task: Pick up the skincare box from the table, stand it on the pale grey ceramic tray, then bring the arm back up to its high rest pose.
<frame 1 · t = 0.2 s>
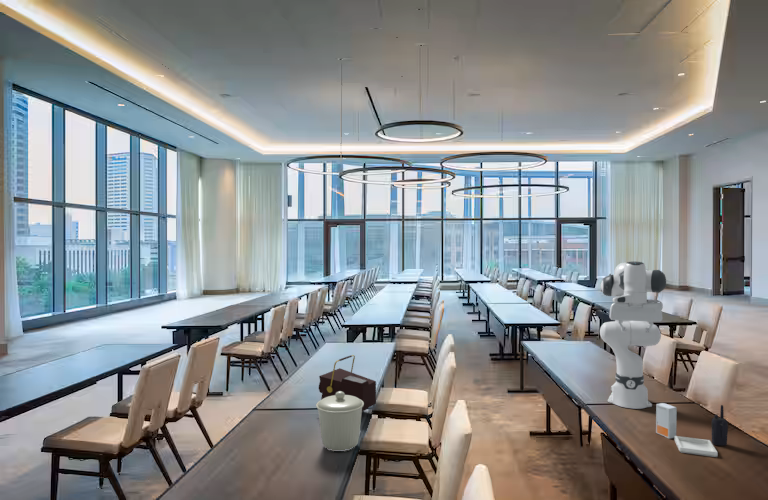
hand: (635, 331, 210), 39 cm above the table, tool pointing down, fingers open, 8 cm apart
canister: (340, 447, 188), on the table
skincare box: (666, 435, 196), on the table
tray: (695, 448, 184), on the table
two-way radio: (720, 445, 187), on the table
brown box with handle: (348, 412, 225), on the table
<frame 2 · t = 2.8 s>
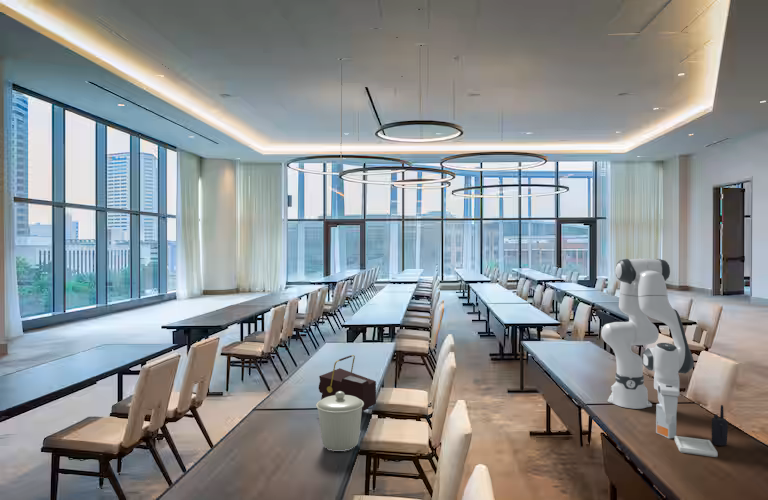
hand: (666, 419, 196), 6 cm above the table, tool pointing down, fingers closed on skincare box, 7 cm apart
skincare box: (666, 435, 196), on the table, touching gripper
everything else where it was.
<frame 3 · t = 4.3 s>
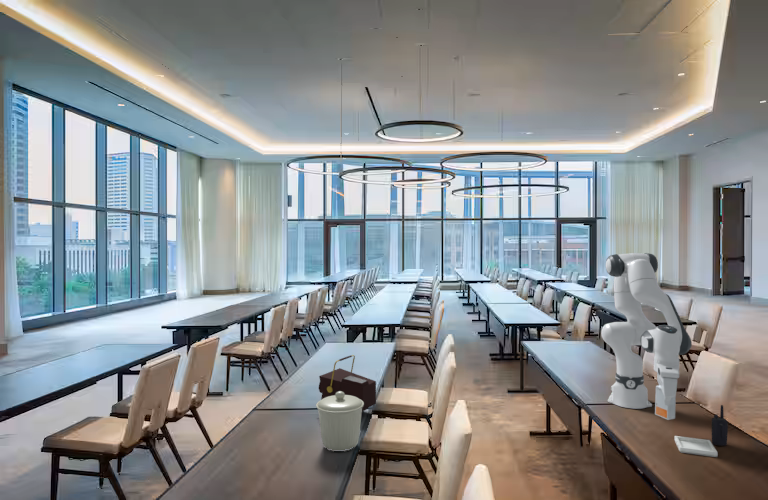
hand: (665, 401, 197), 13 cm above the table, tool pointing down, fingers closed on skincare box, 7 cm apart
skincare box: (664, 417, 197), point 7 cm above the table, touching gripper
everything else where it was.
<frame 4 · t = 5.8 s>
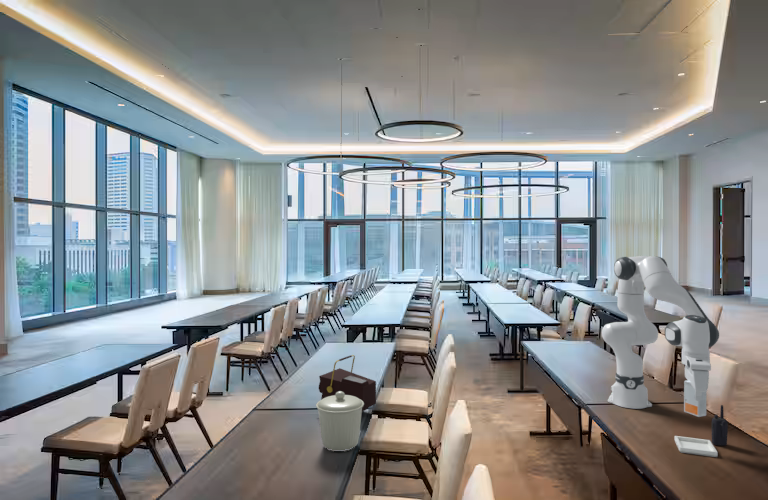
hand: (695, 396, 183), 19 cm above the table, tool pointing down, fingers closed on skincare box, 7 cm apart
skincare box: (695, 414, 184), point 13 cm above the table, touching gripper
everything else where it was.
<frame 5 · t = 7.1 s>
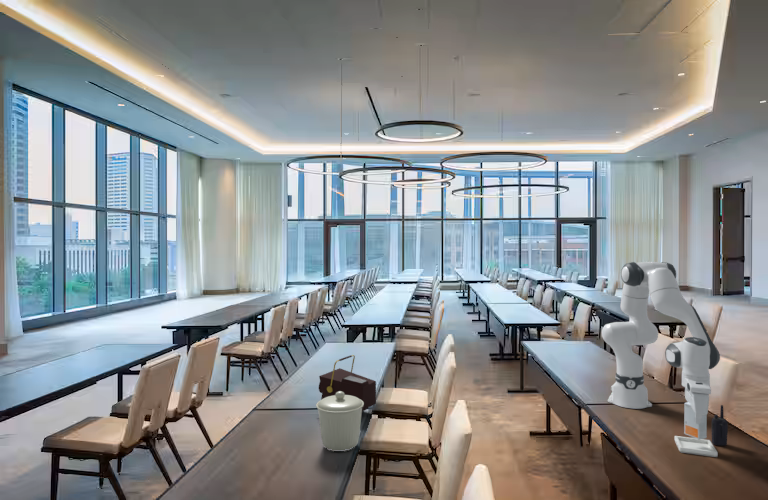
hand: (695, 419, 184), 11 cm above the table, tool pointing down, fingers closed on skincare box, 7 cm apart
skincare box: (695, 436, 184), point 4 cm above the table, touching gripper
everything else where it was.
when the fingers open (8 cm above the table, at t = 8.3 s): skincare box stays where it is, resting on tray.
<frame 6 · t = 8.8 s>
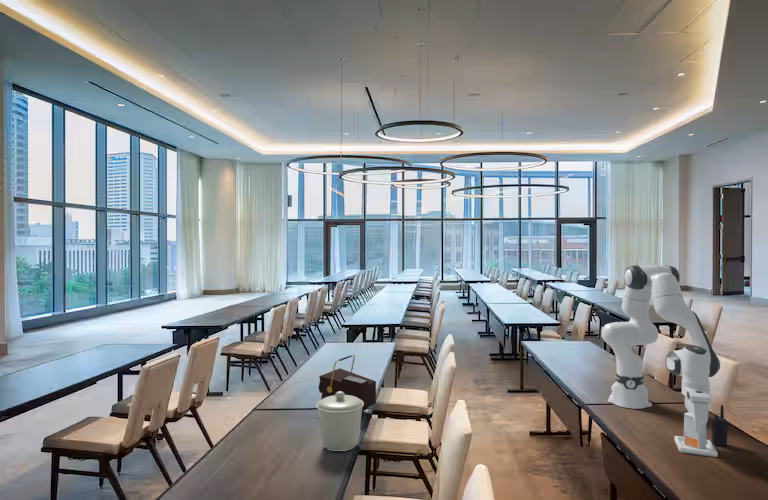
hand: (695, 427, 184), 8 cm above the table, tool pointing down, fingers open, 8 cm apart
skincare box: (694, 447, 184), resting on tray
everything else where it was.
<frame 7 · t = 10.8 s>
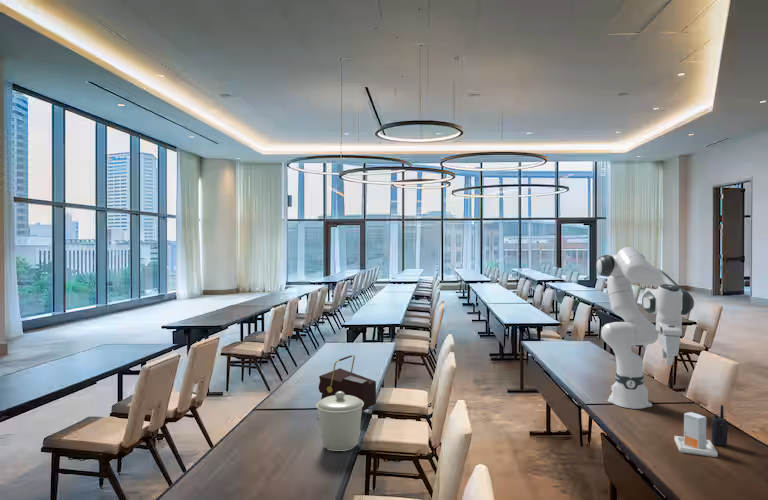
hand: (667, 361, 194), 30 cm above the table, tool pointing down, fingers open, 8 cm apart
nothing on the table moved.
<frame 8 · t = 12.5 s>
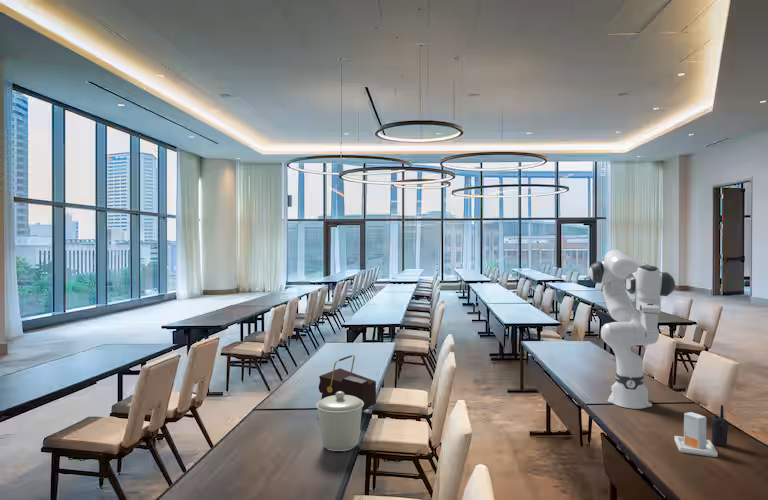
hand: (648, 339, 201), 37 cm above the table, tool pointing down, fingers open, 8 cm apart
nothing on the table moved.
at the end: skincare box inside the target area on the tray (0.1 cm from its centre), point 0.4 cm above the tray's base; skincare box tilted 0°; the gripper is holding nothing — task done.
